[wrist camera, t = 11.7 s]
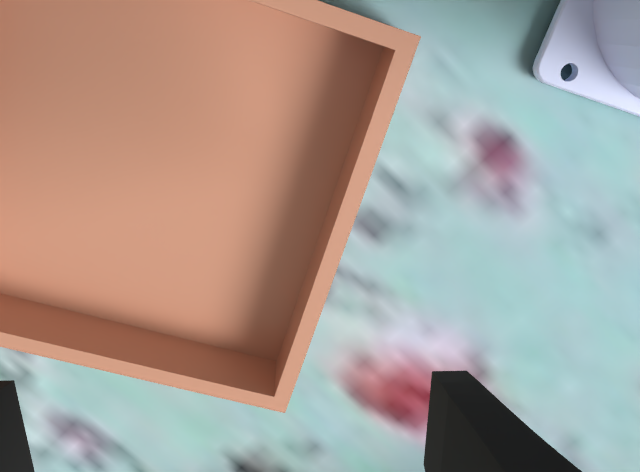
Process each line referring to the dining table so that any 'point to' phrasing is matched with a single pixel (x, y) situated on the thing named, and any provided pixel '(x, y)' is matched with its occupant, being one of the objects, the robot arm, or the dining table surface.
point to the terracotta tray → (185, 181)
